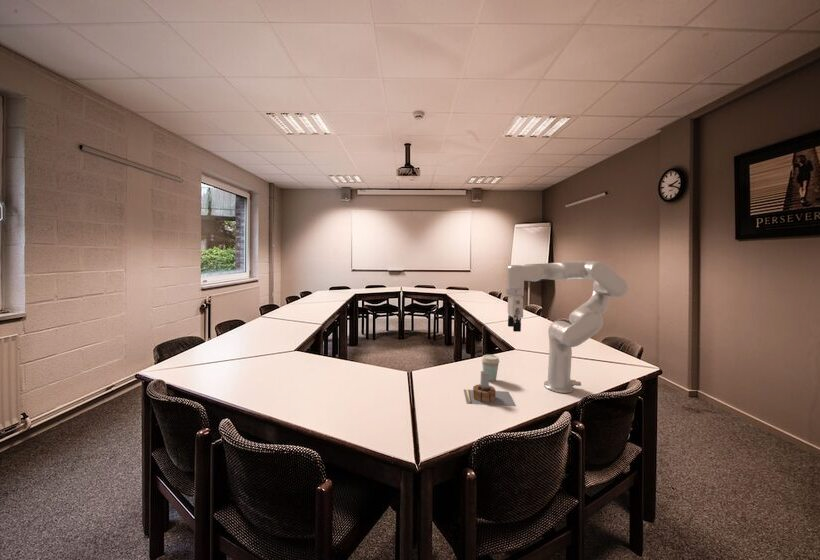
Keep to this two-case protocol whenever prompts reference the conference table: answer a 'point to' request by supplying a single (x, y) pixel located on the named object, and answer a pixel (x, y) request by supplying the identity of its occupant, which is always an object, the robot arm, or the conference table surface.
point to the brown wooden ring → (484, 394)
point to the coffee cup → (490, 366)
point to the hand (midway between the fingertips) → (514, 328)
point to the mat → (500, 399)
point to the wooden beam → (484, 381)
